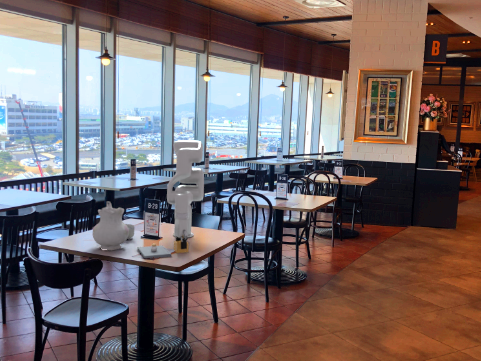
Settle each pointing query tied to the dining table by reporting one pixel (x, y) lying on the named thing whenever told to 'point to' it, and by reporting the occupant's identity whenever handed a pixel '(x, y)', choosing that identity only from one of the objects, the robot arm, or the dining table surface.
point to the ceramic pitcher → (110, 228)
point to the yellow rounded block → (178, 247)
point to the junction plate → (154, 251)
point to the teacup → (130, 230)
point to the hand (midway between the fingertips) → (181, 246)
